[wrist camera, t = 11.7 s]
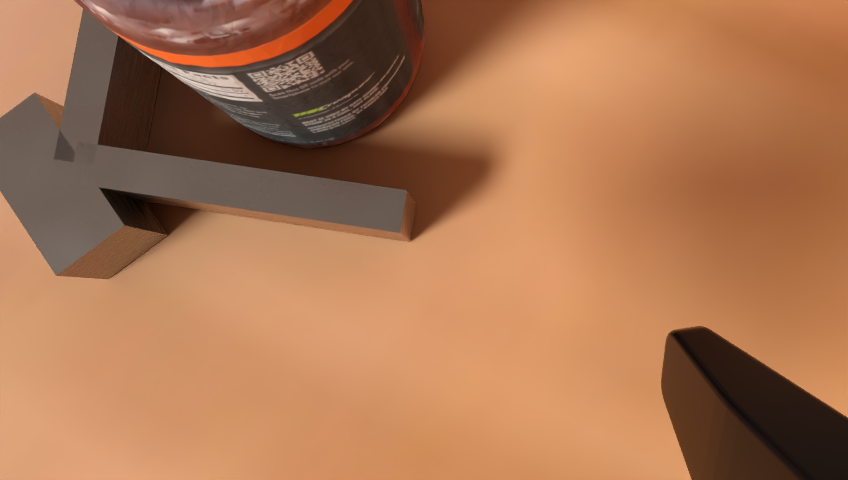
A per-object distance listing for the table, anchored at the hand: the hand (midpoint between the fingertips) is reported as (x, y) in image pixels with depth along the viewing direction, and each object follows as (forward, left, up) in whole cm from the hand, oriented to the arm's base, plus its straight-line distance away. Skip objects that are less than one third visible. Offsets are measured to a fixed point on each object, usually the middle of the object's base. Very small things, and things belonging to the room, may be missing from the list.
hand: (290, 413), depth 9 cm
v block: (+8, +1, -11) cm, 14 cm away
